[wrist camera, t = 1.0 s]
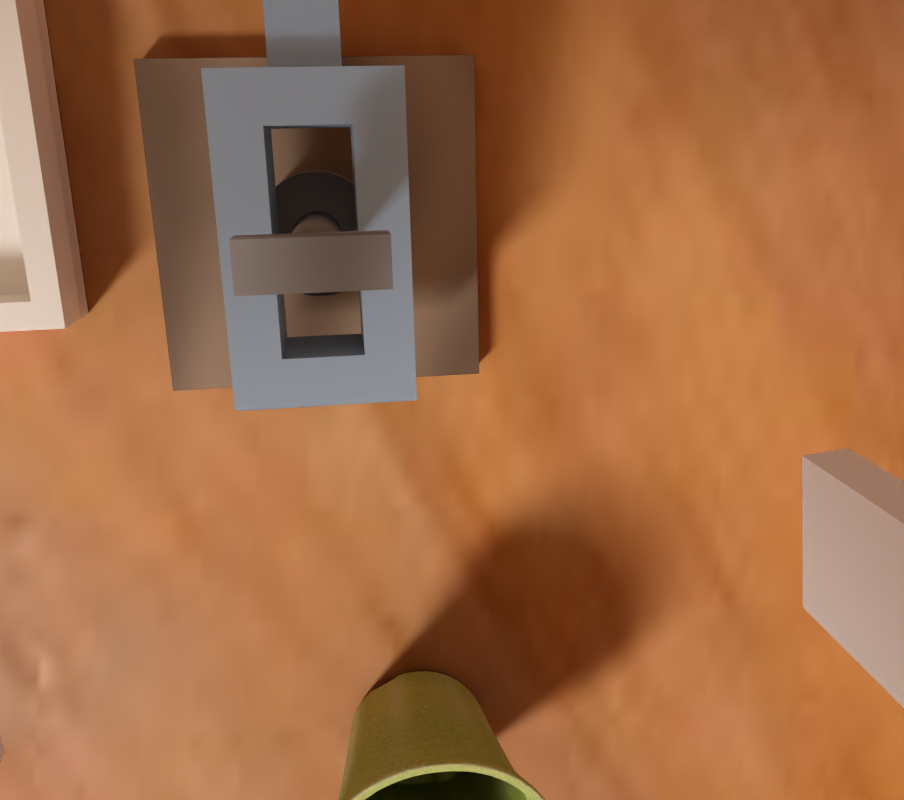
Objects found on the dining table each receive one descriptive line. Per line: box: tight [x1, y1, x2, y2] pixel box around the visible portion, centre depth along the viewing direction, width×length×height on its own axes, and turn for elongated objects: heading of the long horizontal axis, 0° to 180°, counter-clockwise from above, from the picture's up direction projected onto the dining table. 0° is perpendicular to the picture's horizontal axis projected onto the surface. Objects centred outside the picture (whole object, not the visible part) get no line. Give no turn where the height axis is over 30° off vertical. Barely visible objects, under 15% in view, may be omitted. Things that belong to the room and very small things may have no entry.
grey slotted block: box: [201, 0, 417, 411], centre depth 27 cm, size 13×6×3 cm, turn 1°
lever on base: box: [134, 55, 479, 391], centre depth 27 cm, size 12×12×12 cm
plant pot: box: [339, 671, 545, 800], centre depth 36 cm, size 9×9×9 cm
